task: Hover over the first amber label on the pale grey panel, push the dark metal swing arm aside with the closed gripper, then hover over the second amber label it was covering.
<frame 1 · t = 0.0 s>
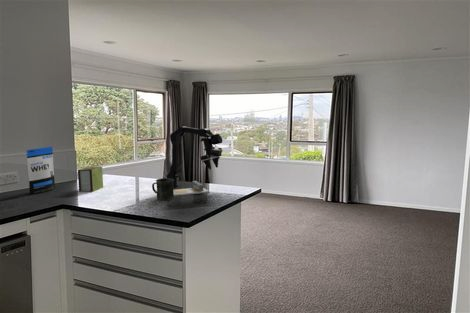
hand: (213, 168, 242), 15 cm above the countertop, tool pointing down, fingers open, 9 cm apart
mug: (163, 198, 221), on the countertop
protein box: (91, 189, 249), on the countertop
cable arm: (197, 185, 241), point 4 cm above the countertop, hinge at 0.0°
protein powder: (43, 191, 244), on the countertop
label panel: (188, 192, 239), on the countertop
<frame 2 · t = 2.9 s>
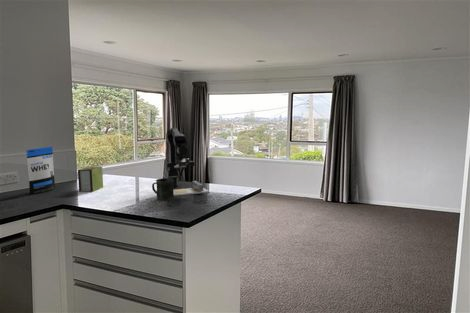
hand: (180, 177, 234), 11 cm above the countertop, tool pointing down, fingers closed
nothing on the countertop moved.
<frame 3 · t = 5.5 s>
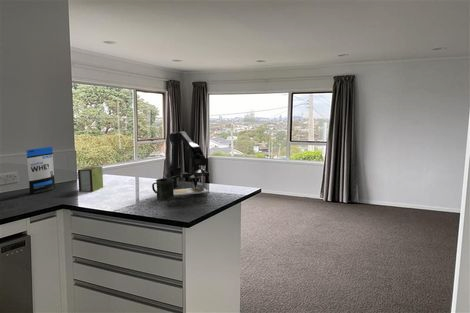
hand: (195, 187, 237), 4 cm above the countertop, tool pointing down, fingers closed
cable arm: (197, 185, 241), point 4 cm above the countertop, hinge at 1.6°, touching gripper
everything else where it was.
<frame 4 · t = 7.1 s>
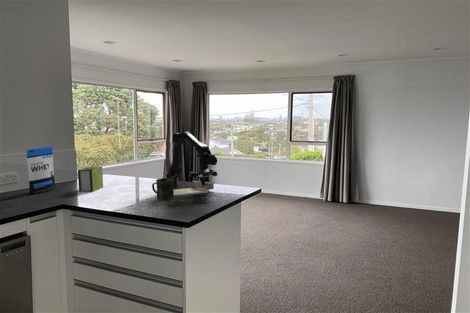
hand: (203, 186, 240), 4 cm above the countertop, tool pointing down, fingers closed
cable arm: (202, 185, 244), point 4 cm above the countertop, hinge at 37.6°, touching gripper
everything else where it was.
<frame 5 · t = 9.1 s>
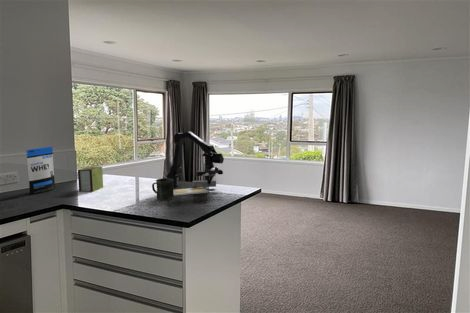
hand: (209, 184, 245), 4 cm above the countertop, tool pointing down, fingers closed
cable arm: (203, 183, 248), point 4 cm above the countertop, hinge at 75.4°
everything else where it was.
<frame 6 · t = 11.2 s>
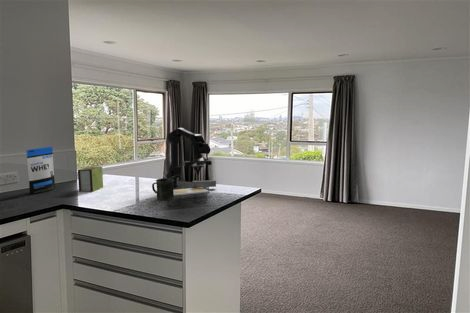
hand: (197, 175, 239), 11 cm above the countertop, tool pointing down, fingers closed
nothing on the countertop moved.
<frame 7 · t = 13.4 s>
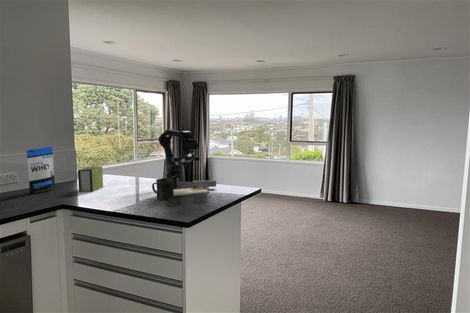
hand: (186, 170, 247), 13 cm above the countertop, tool pointing down, fingers closed
nothing on the countertop moved.
at the end: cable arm at +75° (first picture: +0°); mug moved 0.2 cm from its start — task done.
